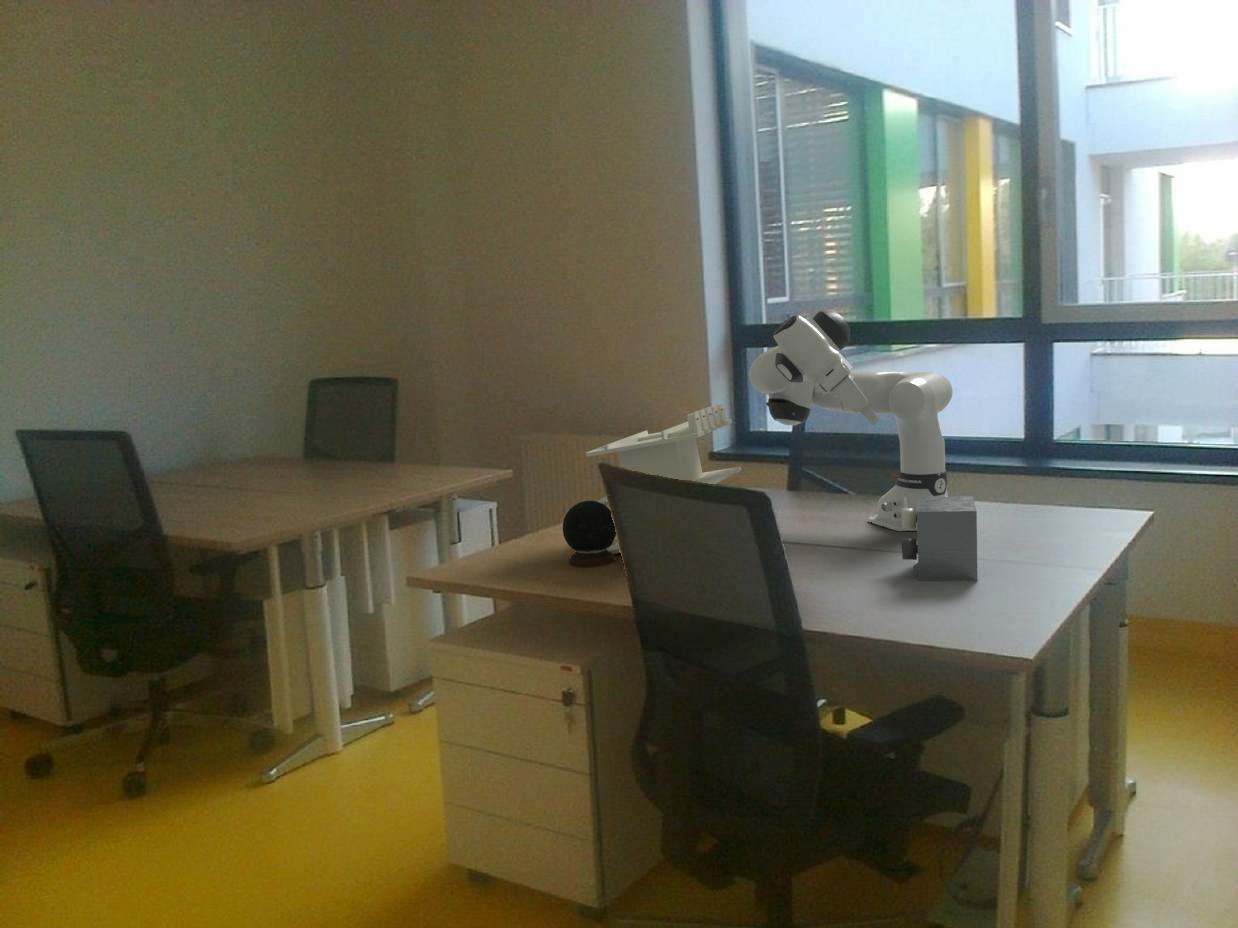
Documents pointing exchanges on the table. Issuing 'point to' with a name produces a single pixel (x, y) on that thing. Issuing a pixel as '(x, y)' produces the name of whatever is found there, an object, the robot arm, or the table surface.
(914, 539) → the charcoal knob
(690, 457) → the white spaceship model
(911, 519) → the ivory knob
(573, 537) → the black crystal ball
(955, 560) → the control box
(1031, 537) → the table surface
